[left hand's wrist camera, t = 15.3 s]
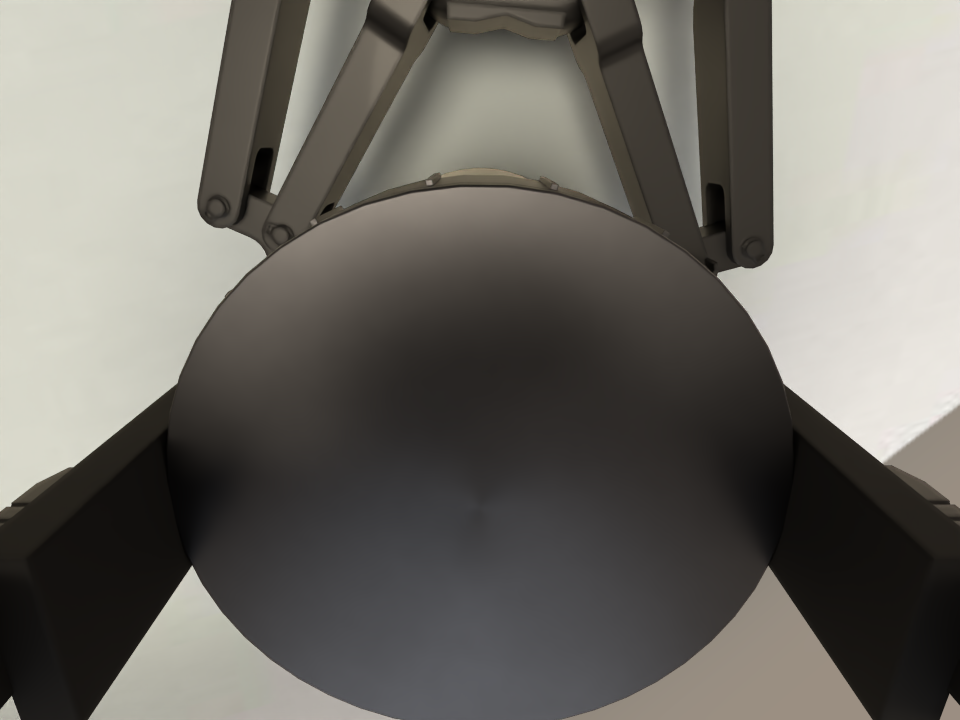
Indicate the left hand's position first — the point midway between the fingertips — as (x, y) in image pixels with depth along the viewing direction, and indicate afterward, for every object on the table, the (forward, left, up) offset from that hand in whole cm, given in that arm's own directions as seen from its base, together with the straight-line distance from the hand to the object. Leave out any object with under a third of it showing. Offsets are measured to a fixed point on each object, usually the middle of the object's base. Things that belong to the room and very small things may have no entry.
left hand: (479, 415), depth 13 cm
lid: (0, 0, +3) cm, 3 cm away
